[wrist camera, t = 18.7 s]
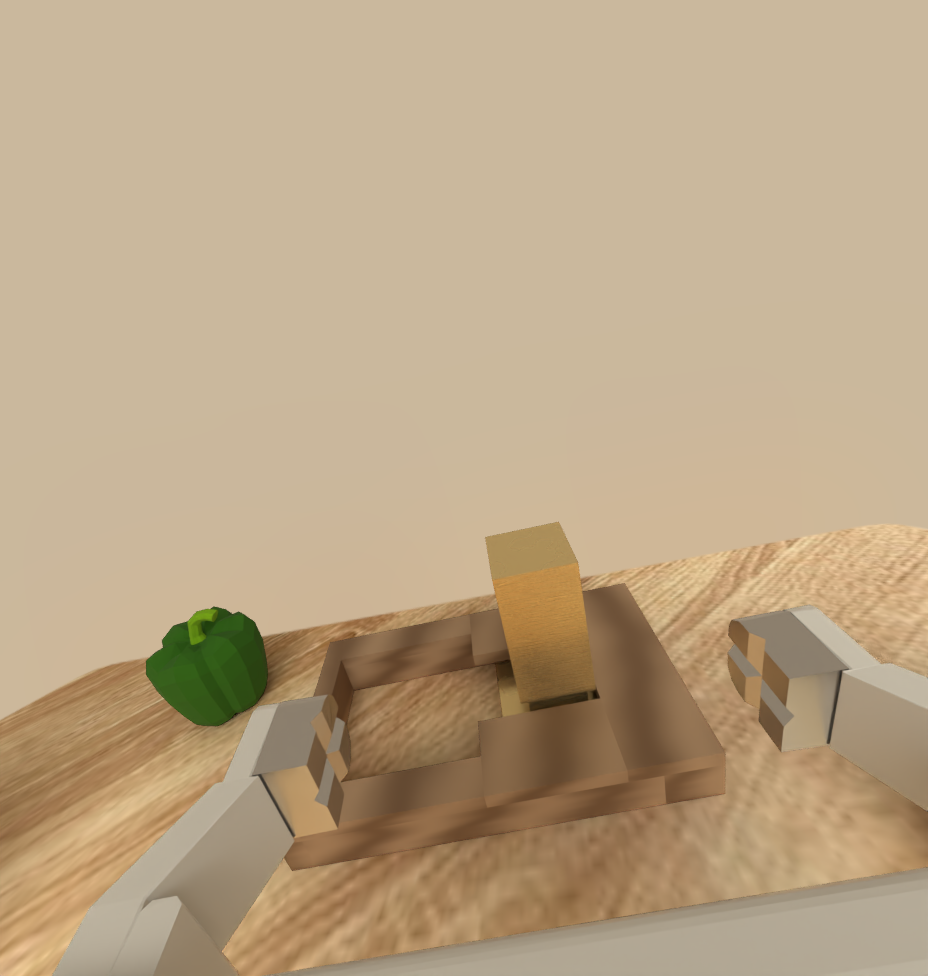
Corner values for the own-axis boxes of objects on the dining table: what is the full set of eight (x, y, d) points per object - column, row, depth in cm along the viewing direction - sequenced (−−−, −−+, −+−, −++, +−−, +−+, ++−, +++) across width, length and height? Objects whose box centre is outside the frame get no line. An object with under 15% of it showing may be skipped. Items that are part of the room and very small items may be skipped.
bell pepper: (163, 728, 42) (105, 640, 38) (239, 660, 49) (196, 578, 45) (225, 755, 38) (167, 660, 34) (298, 676, 45) (257, 588, 41)
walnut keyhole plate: (292, 870, 29) (270, 835, 28) (342, 672, 44) (330, 642, 42) (725, 793, 28) (725, 752, 26) (627, 615, 43) (624, 583, 41)
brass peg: (511, 768, 32) (468, 601, 27) (498, 677, 39) (462, 530, 34) (631, 746, 32) (612, 571, 26) (595, 658, 39) (575, 507, 33)
